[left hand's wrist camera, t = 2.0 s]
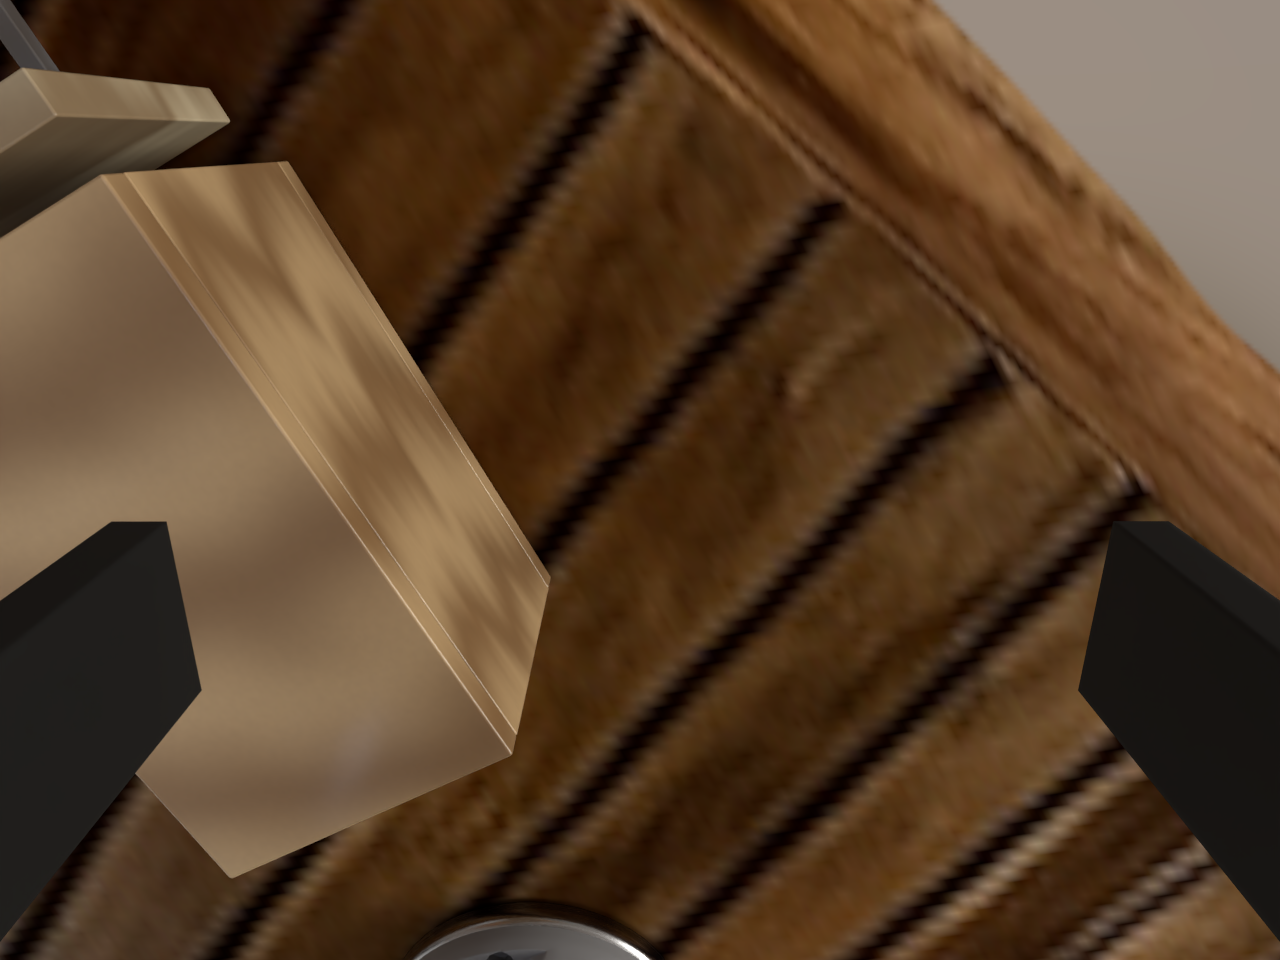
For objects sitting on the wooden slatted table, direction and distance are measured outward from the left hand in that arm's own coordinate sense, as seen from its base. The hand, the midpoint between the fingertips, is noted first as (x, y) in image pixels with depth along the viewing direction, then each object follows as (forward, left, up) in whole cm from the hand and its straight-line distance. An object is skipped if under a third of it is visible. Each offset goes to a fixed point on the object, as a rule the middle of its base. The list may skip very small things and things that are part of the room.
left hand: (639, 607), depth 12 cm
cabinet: (-11, +8, -22) cm, 26 cm away
